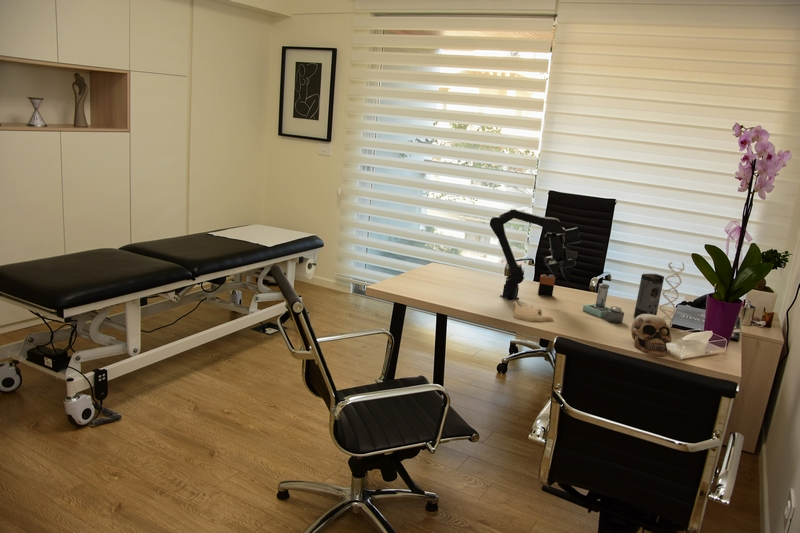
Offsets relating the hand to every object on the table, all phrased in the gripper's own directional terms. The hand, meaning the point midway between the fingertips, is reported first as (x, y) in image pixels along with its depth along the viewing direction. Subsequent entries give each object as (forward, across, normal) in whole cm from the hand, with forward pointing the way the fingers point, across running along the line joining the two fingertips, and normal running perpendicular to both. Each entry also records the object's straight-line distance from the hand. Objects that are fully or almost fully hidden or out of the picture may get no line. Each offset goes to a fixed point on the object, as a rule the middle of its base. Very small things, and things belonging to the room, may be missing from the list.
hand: (562, 279), depth 277 cm
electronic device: (+23, -15, -28) cm, 39 cm away
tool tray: (+16, -9, -10) cm, 22 cm away
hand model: (+8, -14, +24) cm, 29 cm away
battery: (+10, +18, +1) cm, 21 cm away
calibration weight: (+18, -20, -10) cm, 29 cm away
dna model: (+24, -34, -24) cm, 47 cm away
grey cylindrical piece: (+16, -9, -10) cm, 21 cm away
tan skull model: (+21, -51, -5) cm, 55 cm away
